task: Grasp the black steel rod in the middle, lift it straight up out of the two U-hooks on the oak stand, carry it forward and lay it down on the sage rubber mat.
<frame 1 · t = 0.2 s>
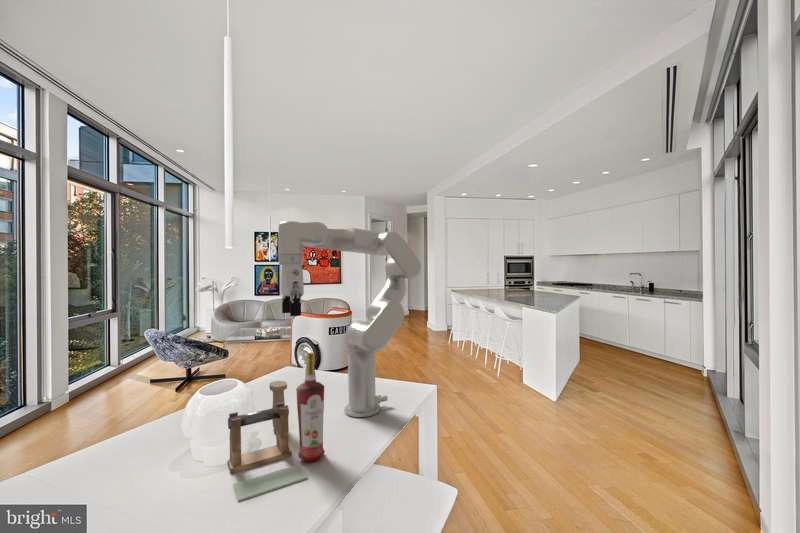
hand: (291, 314, 115), 36 cm above the table, tool pointing down, fingers open, 9 cm apart
handle: (279, 432, 114), on the table
rail: (259, 416, 97), point 11 cm above the table, touching hook stand
mat: (271, 482, 87), on the table
liquor: (311, 458, 97), on the table
hook stand: (259, 459, 97), on the table
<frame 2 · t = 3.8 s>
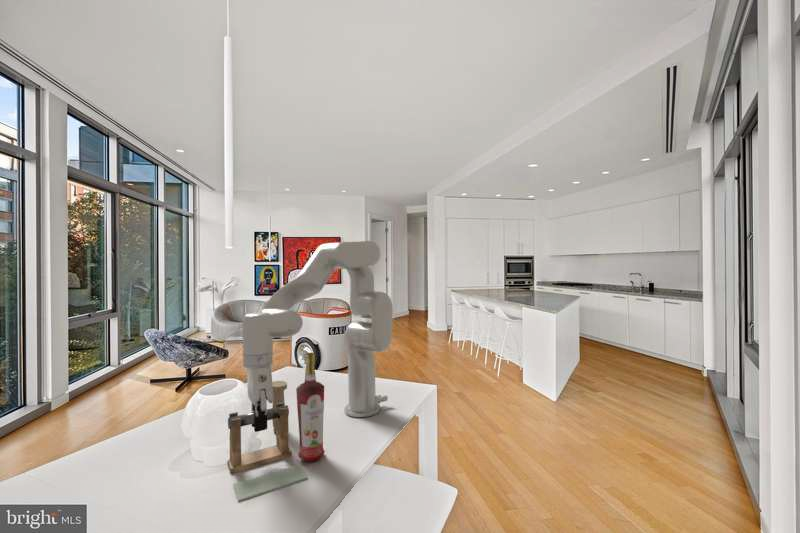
hand: (259, 427, 97), 9 cm above the table, tool pointing down, fingers closed on rail, 2 cm apart
rail: (259, 416, 97), point 11 cm above the table, touching gripper, hook stand
everything else where it was.
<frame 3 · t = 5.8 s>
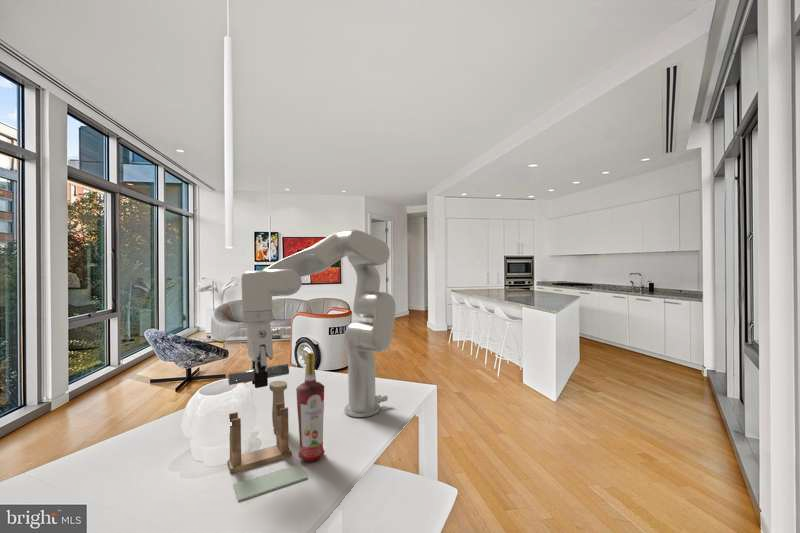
hand: (259, 384, 98), 20 cm above the table, tool pointing down, fingers closed on rail, 2 cm apart
rail: (259, 374, 97), point 23 cm above the table, touching gripper
everything else where it was.
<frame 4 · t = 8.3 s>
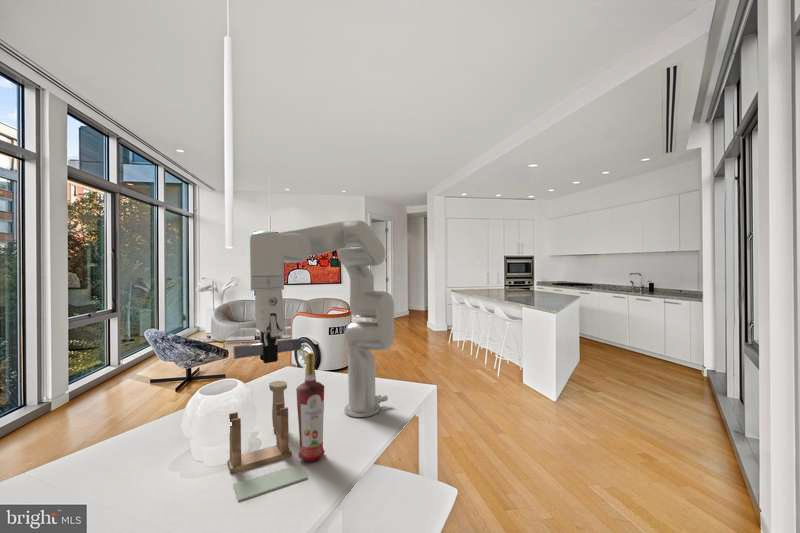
hand: (268, 359, 87), 29 cm above the table, tool pointing down, fingers closed on rail, 2 cm apart
rail: (268, 348, 87), point 32 cm above the table, touching gripper
everything else where it was.
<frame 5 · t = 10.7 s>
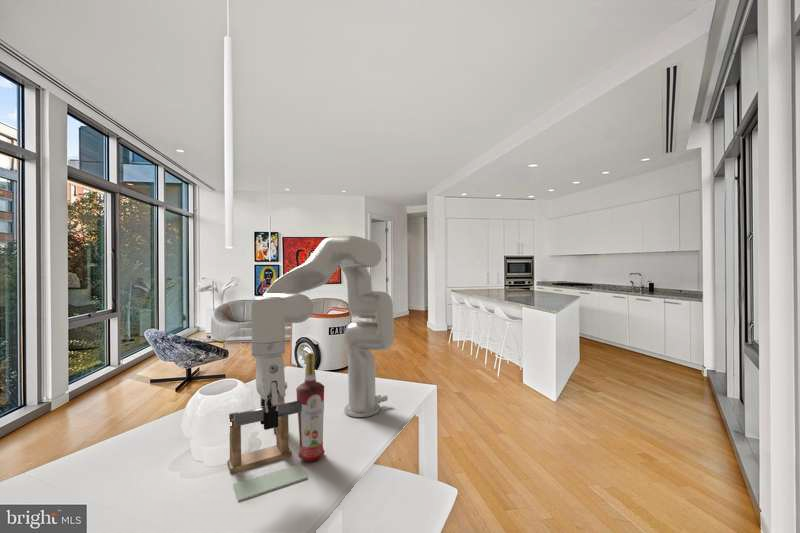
hand: (269, 424, 86), 14 cm above the table, tool pointing down, fingers closed on rail, 2 cm apart
rail: (268, 412, 86), point 17 cm above the table, touching gripper
everything else where it was.
when the fingers open (2 cm above the table, at t = 12.9 s): rail drops 3 cm, resting on mat.
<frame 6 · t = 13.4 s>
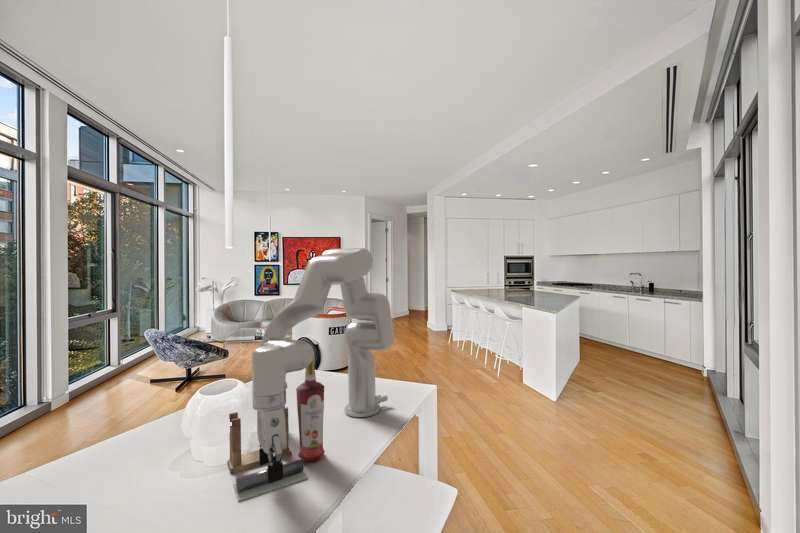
hand: (270, 471, 87), 3 cm above the table, tool pointing down, fingers open, 8 cm apart
rail: (270, 474, 87), point 2 cm above the table, touching mat
everything else where it was.
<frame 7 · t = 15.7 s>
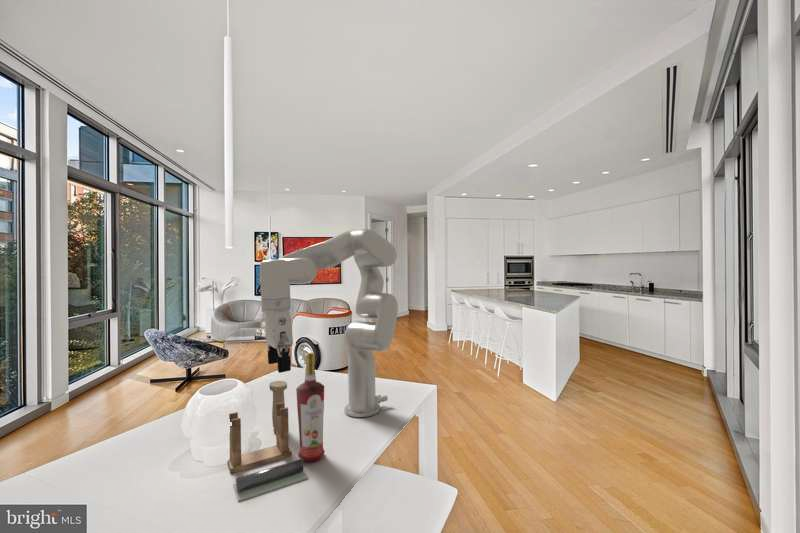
hand: (279, 367, 99), 24 cm above the table, tool pointing down, fingers open, 9 cm apart
nothing on the table moved.
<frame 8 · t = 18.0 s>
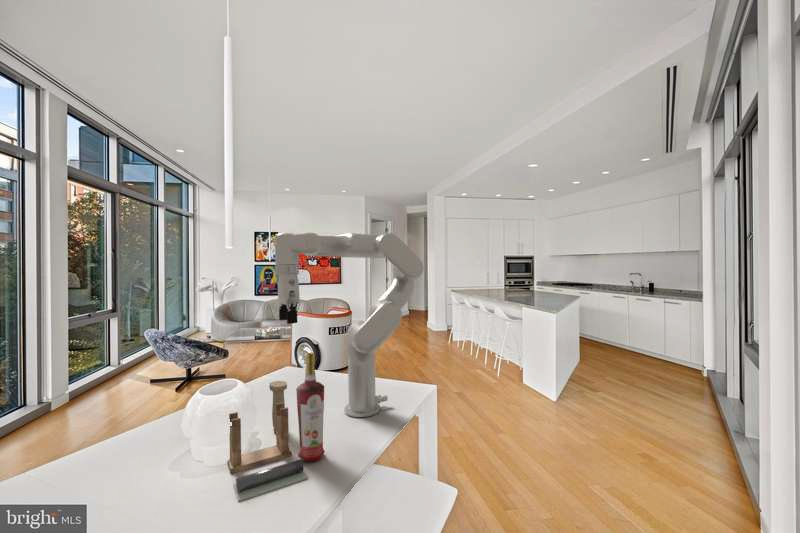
hand: (288, 321, 121), 33 cm above the table, tool pointing down, fingers open, 9 cm apart
nothing on the table moved.
at the end: rail inside the target area (0.0 cm from its centre), point 1.8 cm above the table; rail touching mat; the gripper is holding nothing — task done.
